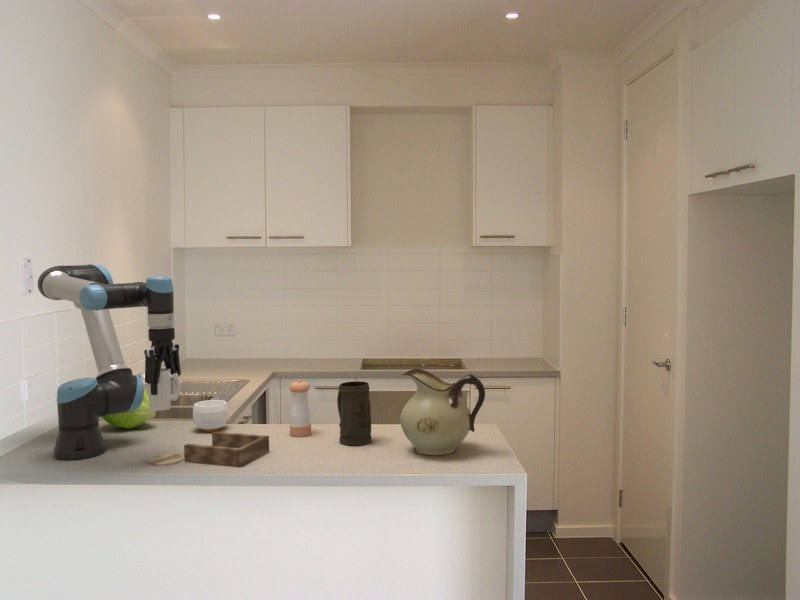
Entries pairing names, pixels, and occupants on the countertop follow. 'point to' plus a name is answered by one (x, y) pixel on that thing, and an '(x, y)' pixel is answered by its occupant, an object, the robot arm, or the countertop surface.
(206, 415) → the white bowl
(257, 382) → the countertop surface
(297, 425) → the salt shaker
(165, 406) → the mug
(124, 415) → the lettuce
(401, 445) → the countertop surface
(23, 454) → the countertop surface
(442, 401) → the pitcher
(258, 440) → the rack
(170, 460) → the coaster
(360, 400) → the beer stein
